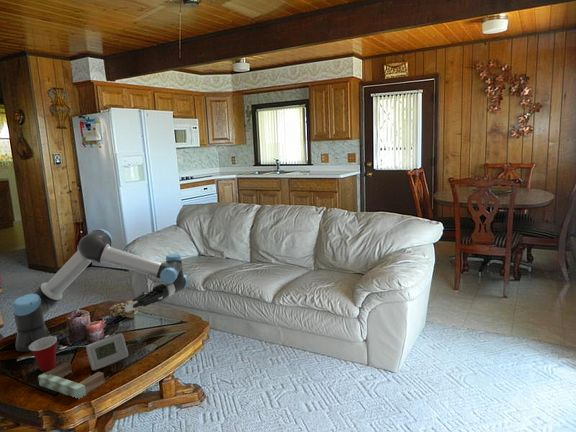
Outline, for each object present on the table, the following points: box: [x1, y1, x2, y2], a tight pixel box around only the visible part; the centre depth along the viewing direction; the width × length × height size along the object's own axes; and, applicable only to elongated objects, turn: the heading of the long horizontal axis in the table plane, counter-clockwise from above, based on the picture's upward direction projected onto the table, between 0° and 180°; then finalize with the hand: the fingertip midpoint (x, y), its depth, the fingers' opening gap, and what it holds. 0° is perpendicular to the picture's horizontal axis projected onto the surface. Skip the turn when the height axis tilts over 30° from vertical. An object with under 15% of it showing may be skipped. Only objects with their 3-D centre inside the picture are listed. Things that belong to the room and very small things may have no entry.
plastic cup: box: [29, 335, 58, 372], centre depth 188 cm, size 11×11×12 cm
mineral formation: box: [109, 299, 139, 319], centre depth 241 cm, size 8×13×15 cm
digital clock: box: [85, 332, 129, 371], centre depth 190 cm, size 16×9×11 cm, turn 123°
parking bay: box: [37, 361, 106, 400], centre depth 175 cm, size 24×12×4 cm, turn 62°
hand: (126, 309), depth 198 cm, fingers closed
